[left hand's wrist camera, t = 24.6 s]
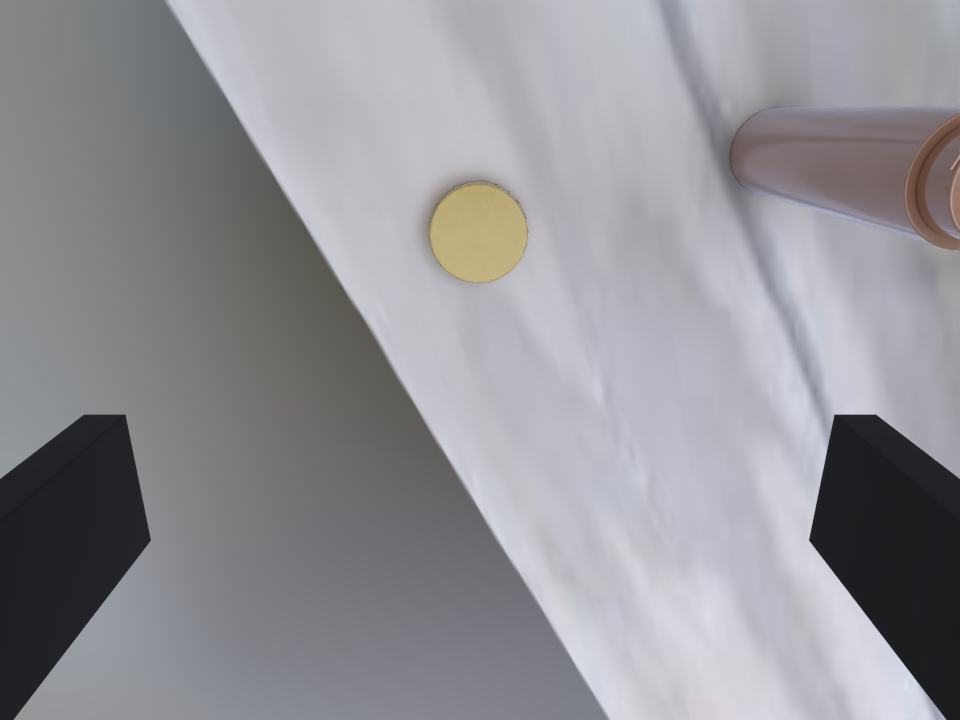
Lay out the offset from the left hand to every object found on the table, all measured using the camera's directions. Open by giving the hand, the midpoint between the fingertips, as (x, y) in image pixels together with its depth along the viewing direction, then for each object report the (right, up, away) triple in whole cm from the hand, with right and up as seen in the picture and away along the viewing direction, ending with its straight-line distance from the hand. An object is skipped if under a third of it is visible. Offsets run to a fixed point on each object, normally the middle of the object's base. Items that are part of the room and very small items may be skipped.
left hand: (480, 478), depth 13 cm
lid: (0, +10, +26) cm, 28 cm away
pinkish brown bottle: (+17, +14, +26) cm, 35 cm away
